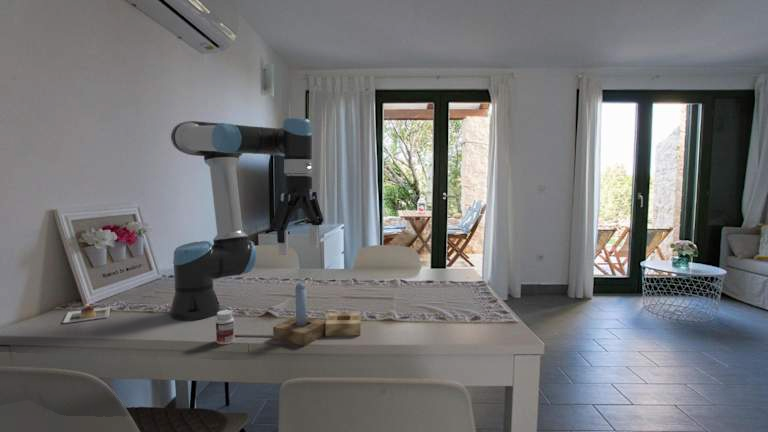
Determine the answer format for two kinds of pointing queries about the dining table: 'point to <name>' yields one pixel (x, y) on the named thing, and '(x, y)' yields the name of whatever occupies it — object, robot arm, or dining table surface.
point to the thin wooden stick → (254, 335)
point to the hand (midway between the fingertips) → (299, 250)
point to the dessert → (86, 313)
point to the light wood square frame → (343, 324)
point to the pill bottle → (225, 327)
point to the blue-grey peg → (301, 305)
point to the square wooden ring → (299, 331)
